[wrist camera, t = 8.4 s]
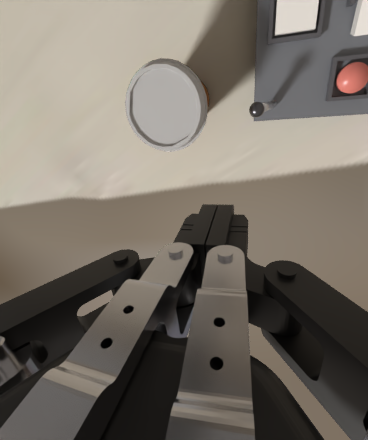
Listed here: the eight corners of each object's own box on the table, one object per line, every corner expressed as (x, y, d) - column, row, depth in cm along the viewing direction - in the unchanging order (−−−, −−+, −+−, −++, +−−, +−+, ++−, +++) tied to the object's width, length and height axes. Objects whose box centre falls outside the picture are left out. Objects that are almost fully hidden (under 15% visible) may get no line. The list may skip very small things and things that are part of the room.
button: (338, 64, 28) (341, 63, 27) (369, 60, 28) (373, 60, 27) (333, 93, 30) (335, 94, 29) (362, 91, 29) (366, 91, 28)
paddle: (277, -10, 27) (278, -14, 26) (319, -18, 26) (321, -22, 25) (274, 36, 29) (275, 34, 28) (313, 30, 28) (315, 28, 26)
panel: (258, -33, 29) (258, -49, 25) (419, -69, 24) (447, -94, 21) (254, 118, 36) (253, 122, 32) (376, 109, 32) (391, 114, 28)
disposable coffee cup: (183, 46, 34) (150, 33, 24) (234, 95, 35) (224, 103, 25) (146, 105, 39) (107, 115, 29) (192, 146, 40) (170, 170, 30)
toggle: (268, 96, 32) (247, 102, 27) (281, 95, 31) (261, 102, 26) (267, 110, 33) (246, 118, 28) (280, 109, 32) (261, 118, 27)
